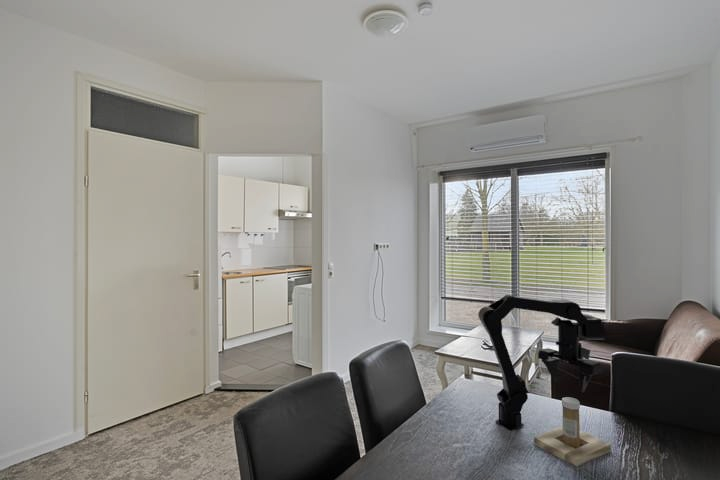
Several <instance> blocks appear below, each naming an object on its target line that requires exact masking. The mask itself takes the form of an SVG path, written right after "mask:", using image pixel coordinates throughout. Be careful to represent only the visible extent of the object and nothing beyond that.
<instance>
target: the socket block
mask: <svg viewBox="0 0 720 480" xmlns="http://www.w3.org/2000/svg"><path fill="white" fill-rule="evenodd" d="M533 444H534V445H536V446H538V447H540V448H541V449H543V450H545V451H547V452H548V453H550V454H552V455H554V456H555V457H557V458H559V459H561V460H563V461H564V462H566V463H567V464H571V465H572V466H573V467H576V468H578V467H580V466H583V465H584V464H586V463H588V462H590V461H593V460H595V459H596V458H600V457H601V456H603V455H605V454H607V453H608V454H609V452H611V451H612V446H611V443H609V442H607V441H605V440H603V439H600V438H598V437H596V436H594V435H593V434H590V433H587V432H585V431H583V430H581V429H580V447H579V448H577V449H575V448H573V447H571V446H569V445H567V444H565V443H563V425H562V426H559V427H556V428H555V429H551V430H549V431H546V432H543V433H541V434H538V435H535V436H533Z"/></svg>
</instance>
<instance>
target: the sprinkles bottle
mask: <svg viewBox="0 0 720 480" xmlns="http://www.w3.org/2000/svg"><path fill="white" fill-rule="evenodd" d="M580 405H581V403H580V401H579V399H577V398H574V397H569V396H566V397H562V398H561V407H562V426H563V443H565V444H567V445H569V446H571V447H573V448H575V449H577V448H579V447H580V430H581V426H580V407H581V406H580Z"/></svg>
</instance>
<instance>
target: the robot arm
mask: <svg viewBox="0 0 720 480" xmlns="http://www.w3.org/2000/svg"><path fill="white" fill-rule="evenodd" d="M514 309H518V310H526V311H532V312H533V311H534V312H540V313H547V314H552V315H554V316H557V317H555V319H553V320H552V321H551V324H552V325H553V326H556V327H557V331H558V332H557V333H558V335H557V337H558V338H557V339H558V341H557V340H556V341H555V345H556V346H557V347H558V350H556V349H553V348H549V347H548V348H543V349H540V350H539V351H538V352H537V359H540V361H541V362H542V363H543V364H544V366H545V368H546V369H547V371H548V372H549V375H550V377H551V378H552V381H553V382H554V383H558V377H559V375H558V365H559V363H560V362H563V363H566V364H570V365H573V366H576V367H578V369H579V370H580V371H578V372H577V373H578V381H579V382H578V383H579V388H580V392H581V393H584V392H585V391H586V389H587V386H588V384H589V382H590V379H591V378H592V377H593V376H594V375H598V374H601V373H604V367H603V364H602V363H601V362H600V361H599V362H598V361H595V360H591V359H590V355H591V350H590V349H587V348H585V347H583V346H582V342H579V337H580V338H581V339H582V340H585V341H586V340H588V341H589V340H591V341H592V340H593V341H594V340H596V341H597V340H598V341H600V340H602V341H604V340H605V339H606V337H607V336H606V335H607V331H606V329H605V326H604V324H603V320H602V319H601V318H599V317H594V318H586V316H585V315H584V314H583V312H582V309H581V306H580V305H579V304H578V303H577V302H574V301H571V300H568V299H551V300H550V299H549V300H544V299H536V298H530V297H523V296H522V297H521V296H515V295H512V294H505V295H504V296H502V297H501V298H499V299H498V300H495V301H494V302H492V303H491V304H490V305H489V304H488V306H484V307H482V308H480V309H479V312H478V314H477V317H478V319H479V321H480V322H481V324H482V326H483V328H484V329H485V331H486V332H487V334H488V336H489V339H490V341H491V345H492V347H493V350H494V351H493V352H494V353H495V357H496V359H497V362H498V365H499V366H498V367H499V368H500V371H501V374H502V379H501V380H502V389H501V390H500V391H499V392H497V393H496V398H497V399H498V401H499V402H498V419H497V420H495V421H494V422H495V423H496V424H498V425H499V426H501V427H503V428H504V429H506V430H509V431H514V430H518V429H520V428H522V427H524V426H525V425H524V423H523V422H522V413H521V412H522V409H523V407H524V404H526V402H527V400H528V398H529V397H528V394H529V393H530V392H529V390H528V389H527V386H526V385H527V384H526V382H525V380H524V379H523V378H522V376H521V375H520V374H516V371H515V368H514V366H513V363H512V360H511V356H510V354H509V350H508V348H507V345H506V341H505V338H504V337H503V323H502V322H503V321H502V320H503V319H504V318H506V317H507V316H508V315H509V314H510V312H511V311H512V310H514ZM559 317H560V318H559ZM561 318H563V319H561ZM572 321H575V322H572ZM583 359H585V360H583Z"/></svg>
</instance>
